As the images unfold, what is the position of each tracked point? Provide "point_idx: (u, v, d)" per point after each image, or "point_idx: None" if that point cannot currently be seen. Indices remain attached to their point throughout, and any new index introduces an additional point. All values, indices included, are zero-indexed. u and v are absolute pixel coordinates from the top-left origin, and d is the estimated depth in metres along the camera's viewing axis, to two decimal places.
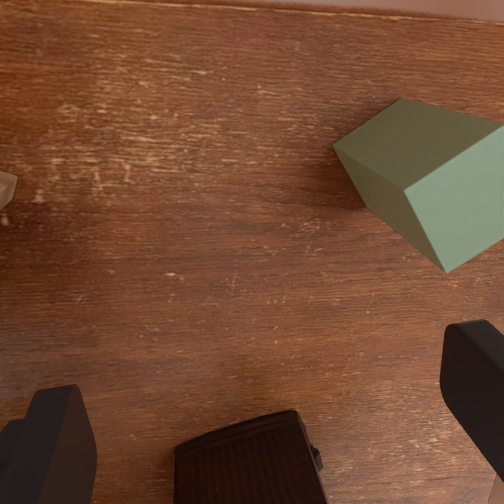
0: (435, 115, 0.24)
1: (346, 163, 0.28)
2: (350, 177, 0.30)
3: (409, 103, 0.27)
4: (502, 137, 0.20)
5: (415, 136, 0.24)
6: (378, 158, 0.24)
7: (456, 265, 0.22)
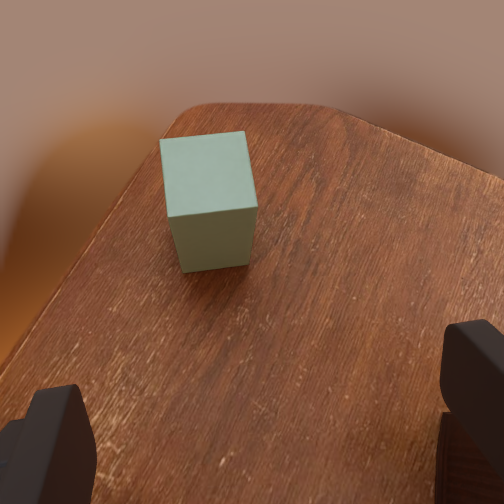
0: None
1: (194, 265, 0.34)
2: (215, 268, 0.35)
3: None
4: (167, 143, 0.27)
5: None
6: None
7: (254, 197, 0.26)
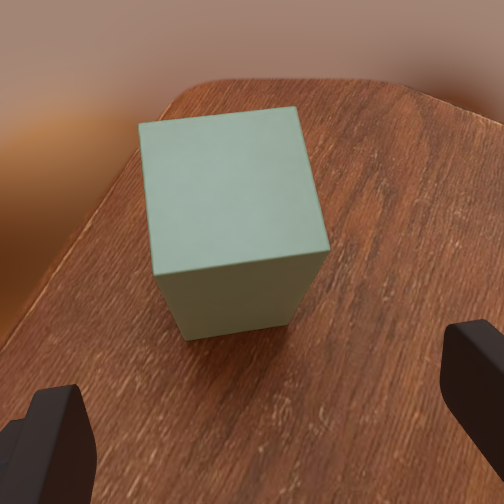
0: None
1: (204, 332, 0.21)
2: (236, 332, 0.22)
3: None
4: (154, 131, 0.14)
5: None
6: None
7: (322, 231, 0.14)
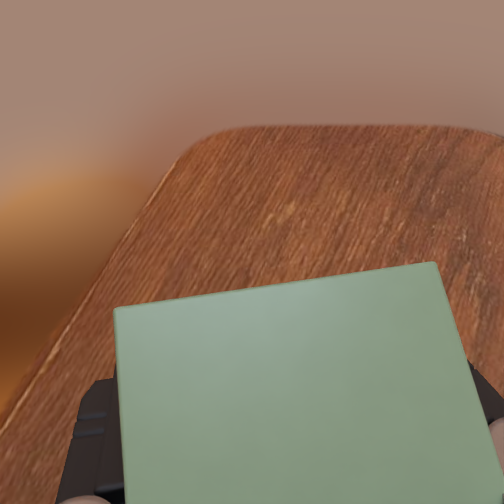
0: None
1: None
2: None
3: None
4: (146, 327, 0.07)
5: None
6: None
7: None
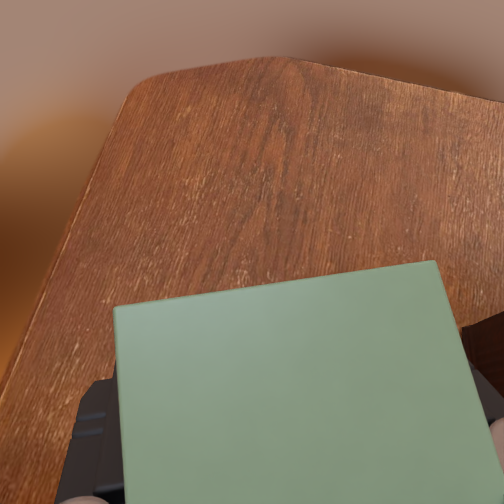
0: None
1: None
2: None
3: None
4: (146, 326, 0.07)
5: None
6: None
7: None
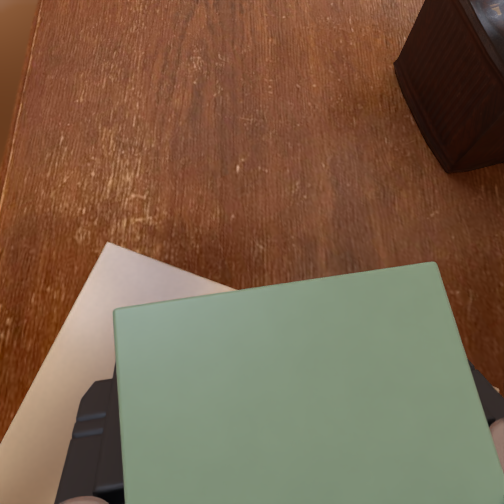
0: None
1: None
2: None
3: None
4: (146, 327, 0.07)
5: None
6: None
7: None
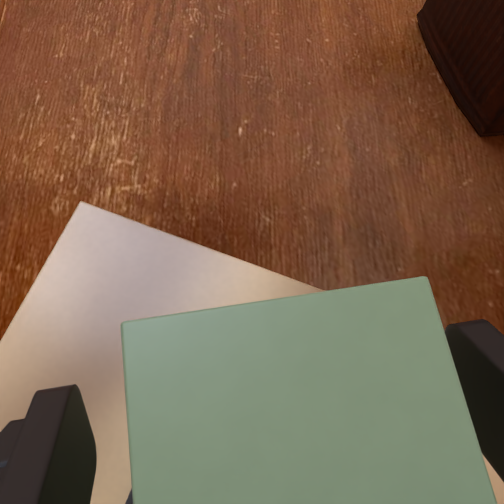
0: None
1: None
2: None
3: None
4: (152, 340, 0.07)
5: None
6: None
7: None
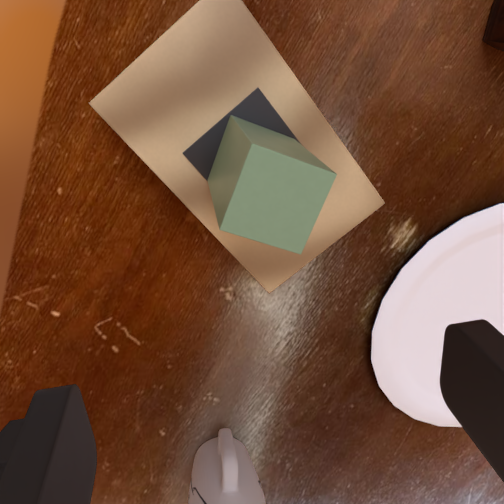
0: (236, 136, 0.29)
1: None
2: None
3: (231, 122, 0.32)
4: (257, 152, 0.24)
5: (228, 164, 0.28)
6: (217, 194, 0.29)
7: (303, 245, 0.27)
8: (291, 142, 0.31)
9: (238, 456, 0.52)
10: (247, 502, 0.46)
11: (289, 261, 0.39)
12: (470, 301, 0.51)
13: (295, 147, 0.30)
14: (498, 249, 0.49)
